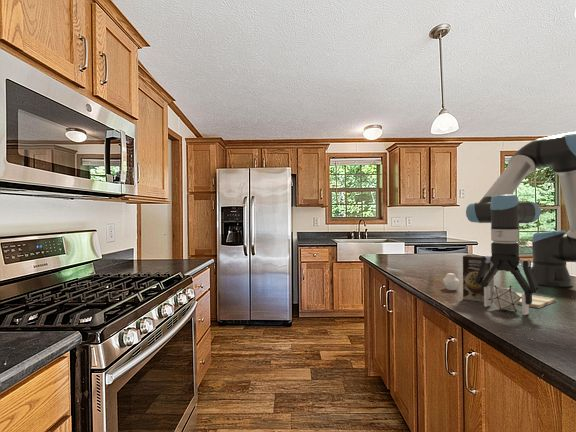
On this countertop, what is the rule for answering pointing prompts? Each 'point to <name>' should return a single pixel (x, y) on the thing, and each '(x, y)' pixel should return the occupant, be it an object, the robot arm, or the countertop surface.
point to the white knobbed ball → (451, 281)
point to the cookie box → (474, 278)
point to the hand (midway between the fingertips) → (505, 309)
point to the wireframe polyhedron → (505, 298)
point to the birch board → (538, 301)
